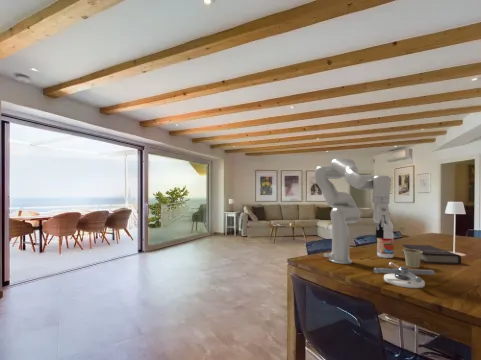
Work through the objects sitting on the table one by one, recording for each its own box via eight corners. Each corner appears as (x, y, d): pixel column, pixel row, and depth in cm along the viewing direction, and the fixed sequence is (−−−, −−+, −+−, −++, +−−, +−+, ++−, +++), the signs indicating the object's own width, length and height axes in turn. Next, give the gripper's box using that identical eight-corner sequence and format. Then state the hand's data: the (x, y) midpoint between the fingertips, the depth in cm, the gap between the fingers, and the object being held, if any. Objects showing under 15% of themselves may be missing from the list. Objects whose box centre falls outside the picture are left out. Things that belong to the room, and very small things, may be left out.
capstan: (454, 289, 114) (453, 277, 114) (386, 286, 116) (386, 274, 116) (417, 271, 140) (417, 261, 141) (363, 268, 142) (363, 259, 143)
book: (461, 265, 163) (461, 254, 163) (425, 263, 165) (425, 253, 165) (432, 254, 191) (432, 245, 191) (402, 253, 193) (402, 244, 193)
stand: (389, 286, 122) (389, 281, 122) (379, 275, 138) (379, 271, 138) (431, 289, 119) (431, 285, 119) (416, 278, 134) (416, 274, 134)
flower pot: (425, 269, 151) (425, 253, 151) (406, 268, 153) (406, 251, 153) (418, 264, 160) (418, 249, 160) (400, 263, 162) (400, 248, 162)
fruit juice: (383, 254, 186) (383, 211, 187) (397, 257, 178) (396, 212, 179) (373, 255, 181) (374, 211, 182) (387, 258, 173) (387, 213, 174)
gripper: (394, 201, 131) (392, 241, 131) (384, 199, 146) (383, 235, 146) (376, 201, 132) (375, 240, 132) (369, 199, 147) (367, 234, 147)
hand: (379, 237), depth 139 cm, fingers closed
